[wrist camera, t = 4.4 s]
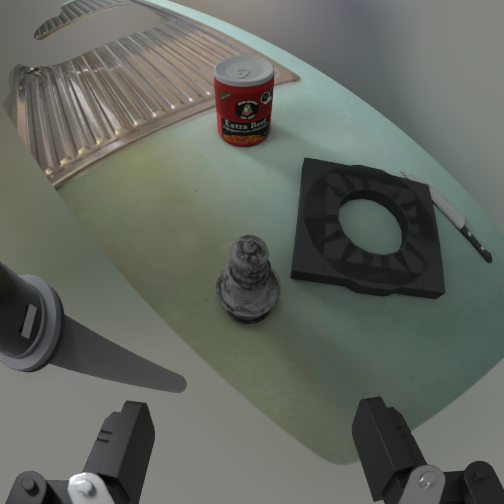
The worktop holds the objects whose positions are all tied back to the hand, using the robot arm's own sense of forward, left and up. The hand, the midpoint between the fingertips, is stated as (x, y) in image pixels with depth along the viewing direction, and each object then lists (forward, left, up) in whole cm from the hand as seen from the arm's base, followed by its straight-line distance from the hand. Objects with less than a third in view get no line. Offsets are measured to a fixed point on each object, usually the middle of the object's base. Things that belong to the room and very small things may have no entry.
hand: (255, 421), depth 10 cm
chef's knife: (+25, +28, -19) cm, 42 cm away
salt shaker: (-2, +11, -19) cm, 22 cm away
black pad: (+11, +22, -18) cm, 31 cm away
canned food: (-7, +36, -19) cm, 41 cm away
